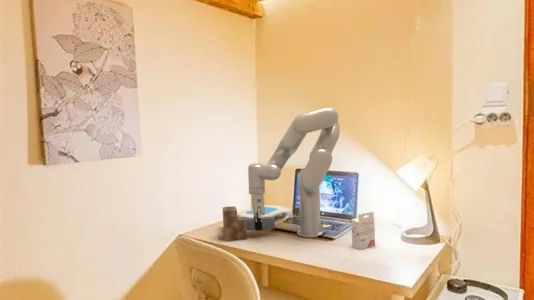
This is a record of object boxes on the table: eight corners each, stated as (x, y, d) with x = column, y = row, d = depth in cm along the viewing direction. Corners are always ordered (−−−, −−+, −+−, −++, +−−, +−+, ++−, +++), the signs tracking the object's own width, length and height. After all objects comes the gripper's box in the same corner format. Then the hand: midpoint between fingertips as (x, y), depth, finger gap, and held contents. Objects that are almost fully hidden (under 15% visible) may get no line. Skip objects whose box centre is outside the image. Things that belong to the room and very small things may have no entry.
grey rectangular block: (273, 226, 183) (273, 212, 182) (275, 228, 179) (274, 214, 179) (237, 229, 180) (237, 214, 179) (238, 231, 176) (238, 216, 176)
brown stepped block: (241, 226, 197) (240, 199, 195) (247, 239, 175) (245, 209, 174) (222, 228, 195) (220, 201, 194) (225, 241, 173) (223, 211, 172)
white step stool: (230, 225, 200) (229, 214, 199) (262, 213, 222) (262, 203, 222) (261, 231, 187) (261, 219, 187) (293, 218, 209) (292, 207, 209)
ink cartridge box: (367, 242, 164) (366, 209, 163) (375, 246, 159) (374, 211, 158) (351, 246, 160) (350, 212, 159) (359, 250, 155) (358, 214, 154)
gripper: (268, 193, 171) (269, 233, 172) (261, 186, 187) (262, 223, 189) (251, 194, 169) (252, 234, 171) (246, 187, 186) (247, 224, 187)
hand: (257, 228), depth 180 cm, fingers closed on grey rectangular block, 3 cm apart
